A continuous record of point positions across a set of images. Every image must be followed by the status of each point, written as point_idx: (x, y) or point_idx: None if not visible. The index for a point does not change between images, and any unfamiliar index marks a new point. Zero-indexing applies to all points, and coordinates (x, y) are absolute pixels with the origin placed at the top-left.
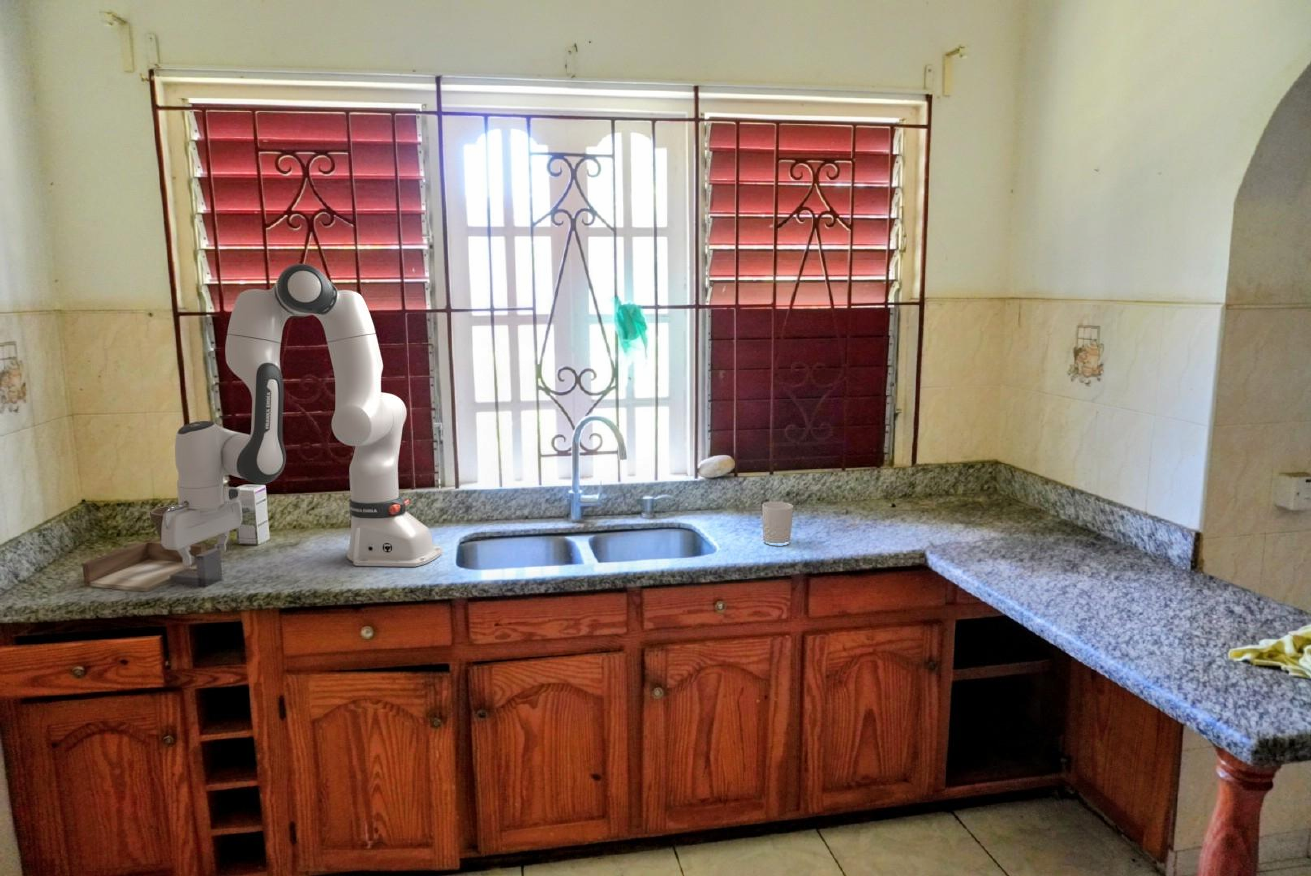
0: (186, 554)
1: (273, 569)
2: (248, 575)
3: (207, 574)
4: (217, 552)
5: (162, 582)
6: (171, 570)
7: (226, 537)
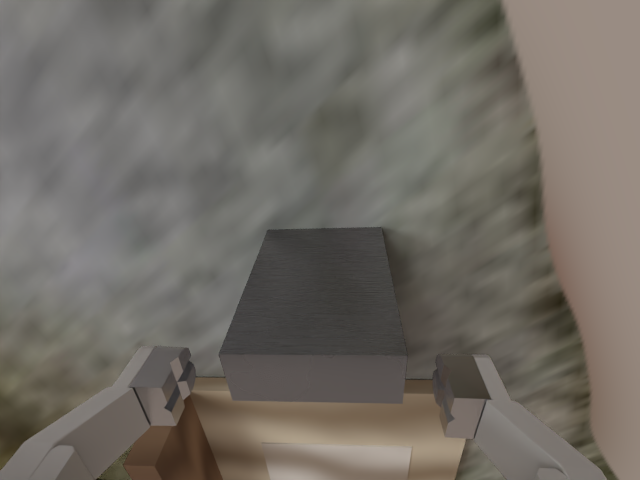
0: (556, 440)
1: (10, 79)
2: (162, 149)
3: (371, 261)
4: (250, 341)
5: None
6: (289, 426)
7: (71, 432)
